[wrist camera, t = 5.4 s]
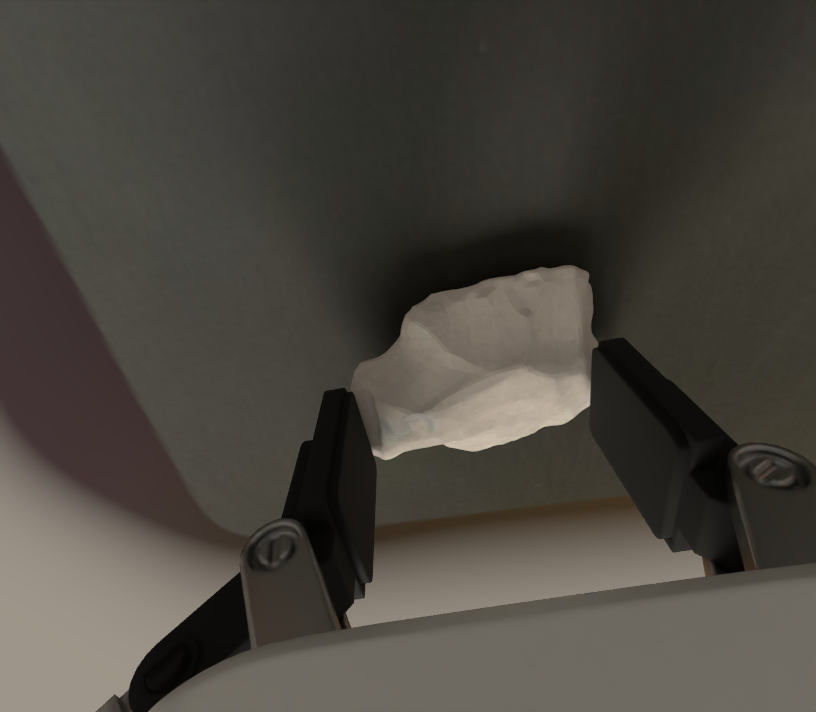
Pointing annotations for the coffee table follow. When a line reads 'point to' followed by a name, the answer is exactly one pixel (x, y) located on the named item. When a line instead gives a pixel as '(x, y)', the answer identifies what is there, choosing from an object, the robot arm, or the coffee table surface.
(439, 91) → the coffee table surface
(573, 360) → the decorative stone
